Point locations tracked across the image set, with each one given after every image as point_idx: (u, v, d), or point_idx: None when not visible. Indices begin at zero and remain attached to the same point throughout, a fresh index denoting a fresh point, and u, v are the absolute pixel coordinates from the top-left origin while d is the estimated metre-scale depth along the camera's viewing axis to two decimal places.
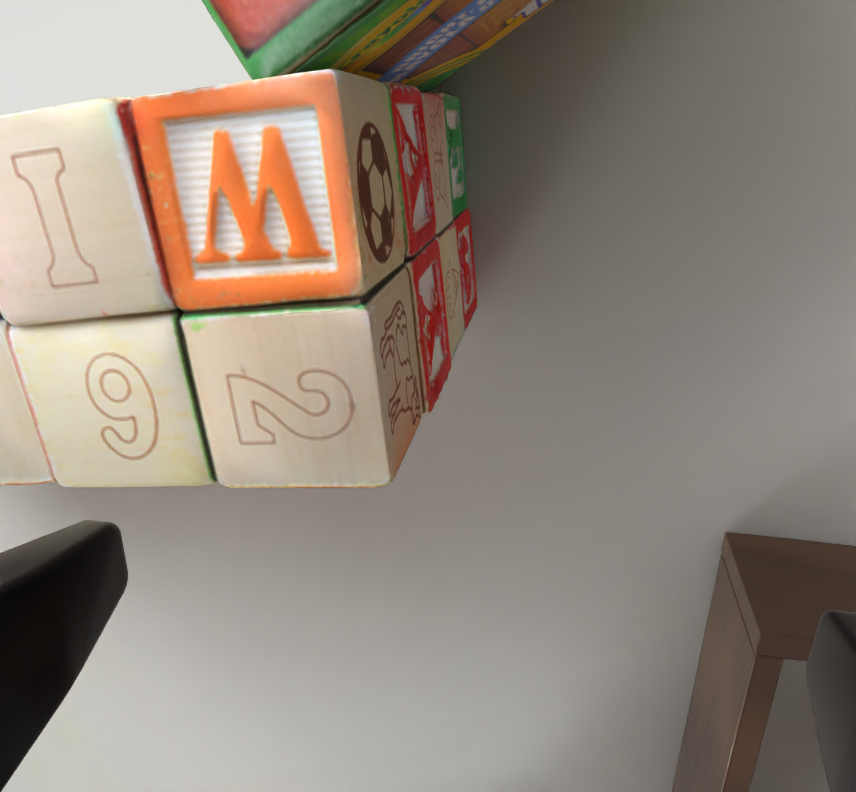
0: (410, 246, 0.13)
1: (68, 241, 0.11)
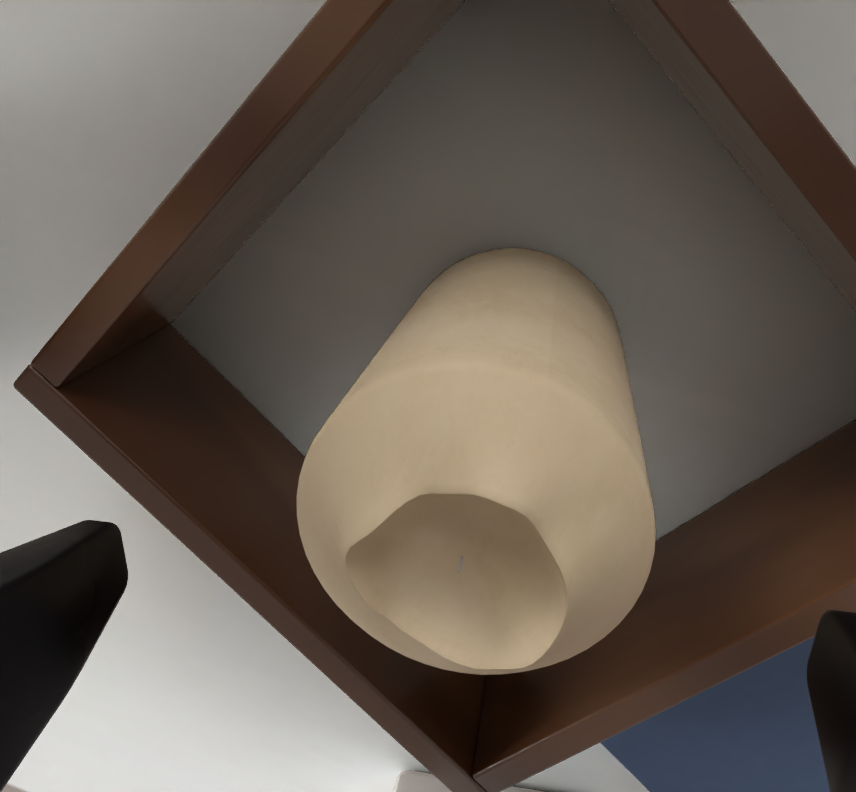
0: None
1: None
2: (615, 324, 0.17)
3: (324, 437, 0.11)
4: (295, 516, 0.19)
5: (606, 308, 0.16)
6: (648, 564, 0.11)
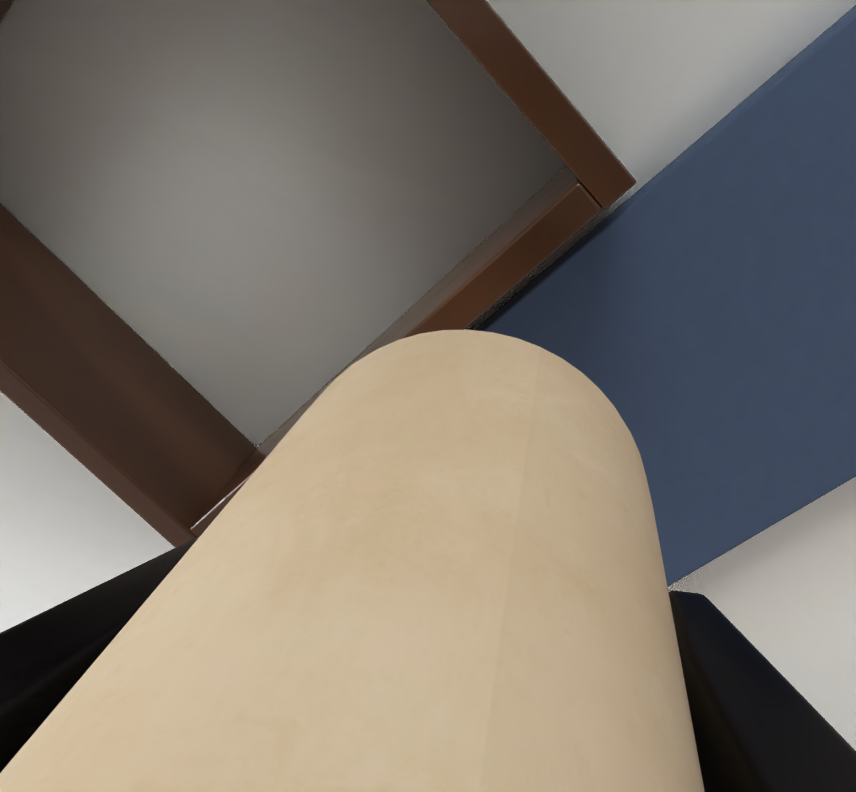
0: None
1: None
2: (640, 473, 0.09)
3: None
4: (37, 304, 0.21)
5: (624, 447, 0.09)
6: None
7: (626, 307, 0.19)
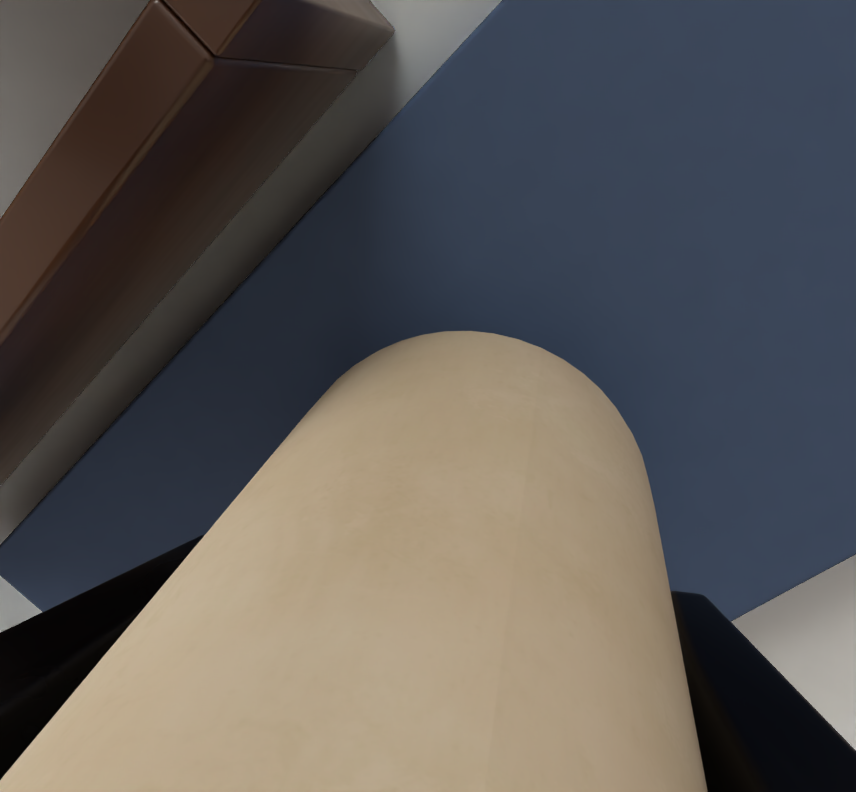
0: None
1: None
2: (642, 474, 0.09)
3: None
4: None
5: (626, 449, 0.09)
6: None
7: (419, 288, 0.11)
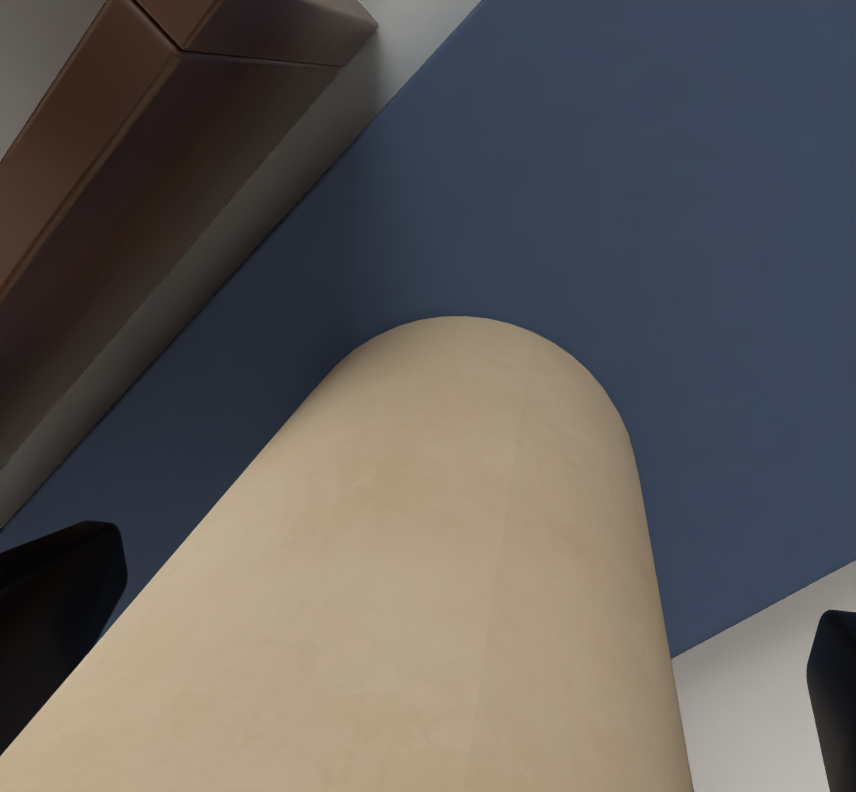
0: None
1: None
2: (628, 449, 0.10)
3: None
4: None
5: (612, 425, 0.10)
6: None
7: (404, 290, 0.11)
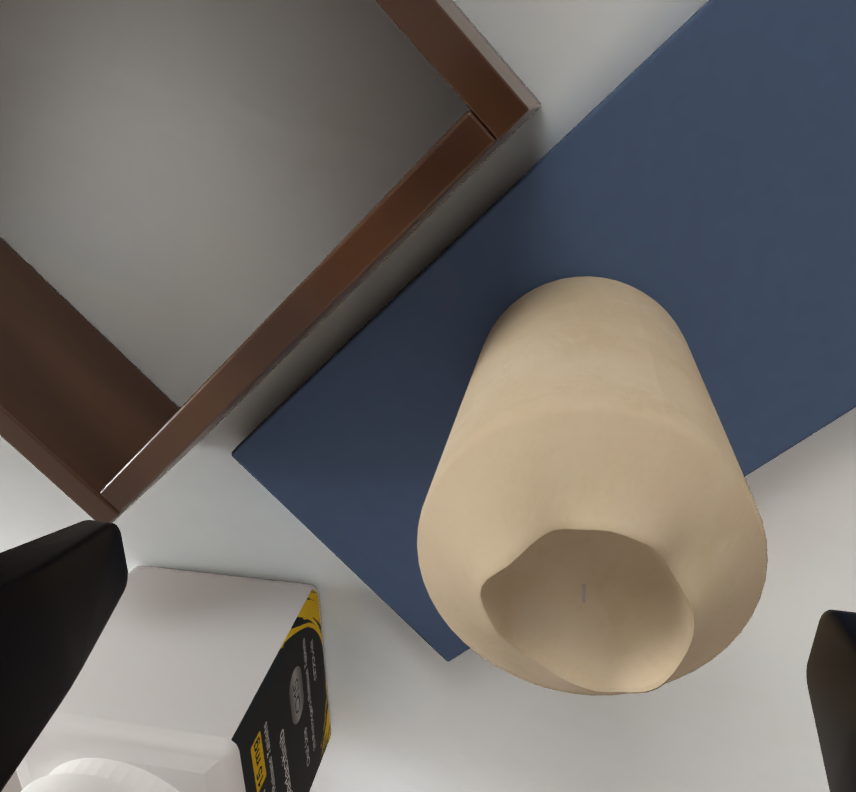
0: None
1: None
2: None
3: (450, 473, 0.11)
4: None
5: (681, 335, 0.17)
6: (759, 591, 0.11)
7: (552, 261, 0.18)
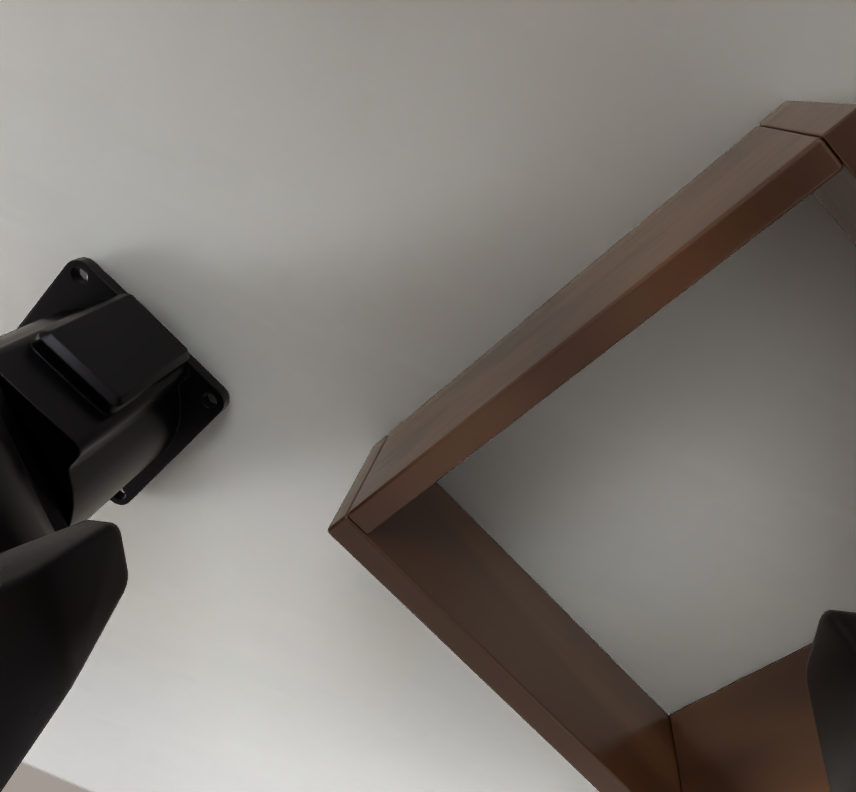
0: None
1: None
2: None
3: None
4: (525, 621, 0.22)
5: None
6: None
7: None
